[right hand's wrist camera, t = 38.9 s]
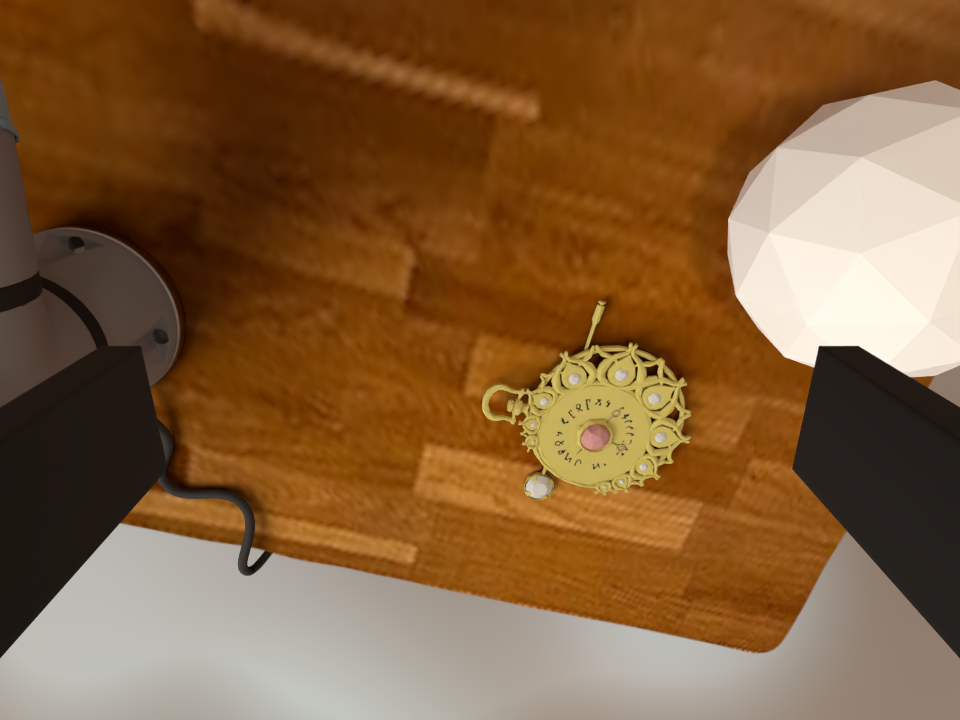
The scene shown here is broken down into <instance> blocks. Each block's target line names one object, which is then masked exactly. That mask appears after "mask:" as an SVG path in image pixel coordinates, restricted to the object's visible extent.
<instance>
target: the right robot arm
mask: <svg viewBox="0 0 960 720" xmlns="http://www.w3.org/2000/svg"><path fill="white" fill-rule="evenodd" d="M18 141H19V134H18V132H17V130H16V128H15V127H14V125H13V124H12V121H11V117H10V113H9V108H8V104H7V100H6V96H5V91H4V87H3V83H2V80H1V78H0V658H1V657H2V656H3V654H4V653H5V652H6V651H7V650H8V649H9V648H10V647H11V645H12V644H13V643H14V642H15V641H16V640H17V639H18V637H19V636H20V635H21V634H22V633H23V632H24V631H25V630H26V628H27V627H28V626H29V625H30V624H31V623H32V622H33V621H34V619H35V618H36V617H37V616H38V615H39V614H40V613H41V612H42V610H43V609H44V608H45V607H46V606H47V605H48V604H49V602H50V601H51V600H52V599H53V598H54V597H55V596H56V595H57V593H58V592H59V591H60V590H61V589H62V588H63V587H64V586H65V584H66V583H67V582H68V581H69V580H70V579H71V578H72V577H73V575H74V574H75V573H76V572H77V571H78V570H79V569H80V567H81V566H82V565H83V564H84V563H85V562H86V561H87V560H88V558H89V557H90V556H91V555H92V554H93V553H94V552H95V551H96V549H97V548H98V547H99V546H100V545H101V544H102V543H103V541H104V540H105V539H106V538H107V537H108V536H109V535H110V534H111V532H112V531H113V530H114V529H115V528H116V527H117V526H118V525H119V523H120V522H121V521H122V520H123V519H124V518H125V517H126V516H127V514H128V513H129V512H130V511H131V510H132V509H133V508H134V506H135V505H136V504H137V503H138V502H139V501H140V500H141V499H142V497H143V496H144V495H145V494H146V493H147V492H148V491H149V490H150V488H151V487H152V486H153V485H154V484H155V483H156V482H157V481H158V482H159V484H160V485H161V486H162V488H164V489H165V490H166V491H167V492H168V493H170V494H172V495H174V496H177V497H181V498H188V499H205V498H218V499H225V500H229V501H231V502H233V503H235V504H236V505H237V506H238V507H239V508H240V509H241V511H242V512H243V515H244V517H245V535H244V539H243V543H242V547H241V551H240V554H239V559H238V568H239V571H240V572H241V573H242V574H243V575H246V576H249V575H252V574H254V573H255V572H257V571H258V570H259V569H260V568H261V567H262V566H263V565H264V564H265V563H266V561H267V560H268V559H269V557H270V556H271V555H272V554H273V553H271V552H267V551H264V552H263V554H262V555H261V556H260V557H259V558H258V560H257V561H256V562H255V563H254V564H253V565H251V566H250V567H248V566H247V561H248V556H249V553H250V549H251V546H252V542H253V537H254V531H255V520H254V514H253V512H252V509H251V507H250V506H249V504H248V503H247V501H246V500H245V499H244V498H242V497H241V496H240V495H238V494H236V493H234V492H231V491H227V490H215V489H209V490H189V489H183V488H180V487H178V486H176V485H174V484H173V483H172V482H171V481H170V480H169V479H168V478H167V474H166V472H167V469H168V468H167V467H168V464H169V461H170V459H171V456H172V453H173V448H174V443H173V439H172V436H171V433H170V432H169V430H168V429H167V428H166V427H165V426H164V425H163V424H162V423H161V422H160V421H159V420H158V419H157V417H156V413H155V408H154V403H153V399H152V394H151V389H150V387H151V386H153V385H154V384H155V383H156V382H158V381H159V380H160V379H161V378H163V377H164V376H165V375H166V374H167V373H168V372H169V371H170V370H171V368H172V367H173V366H174V365H175V363H176V361H177V360H178V358H179V355H180V353H181V351H182V347H183V344H184V339H185V317H184V311H183V307H182V304H181V301H180V298H179V295H178V293H177V291H176V289H175V287H174V285H173V283H172V281H171V280H170V278H169V277H168V275H167V274H166V273H165V271H164V270H163V269H162V268H161V266H160V265H159V264H158V263H157V262H156V261H155V260H154V259H153V258H152V257H151V256H150V255H149V254H148V253H147V252H145V251H144V250H143V249H141V248H140V247H139V246H137V245H136V244H134V243H133V242H131V241H129V240H127V239H126V238H124V237H122V236H120V235H117V234H115V233H113V232H110V231H107V230H104V229H100V228H96V227H90V226H80V225H71V226H62V227H56V228H53V229H49V230H45V231H41V232H38V233H36V234H33V235H32V229H31V224H30V219H29V213H28V208H27V203H26V197H25V192H24V187H23V181H22V176H21V171H20V165H19V160H18V155H17V150H16V144H15V143H16V142H18ZM161 439H162V440H161ZM162 441H163V445H162ZM792 469H793V470H794V471H795V473H796V474H797V475H798V476H799V477H800V478H801V479H802V481H803V482H804V483H805V484H806V485H807V486H808V487H809V488H810V490H811V491H812V492H813V493H814V494H815V495H816V496H817V497H818V499H819V500H820V501H821V502H822V503H823V504H824V505H825V506H826V508H827V509H828V510H829V511H830V512H831V513H832V514H833V516H834V517H835V518H836V519H837V520H838V521H839V522H840V523H841V525H842V526H843V527H844V528H845V529H846V530H847V531H848V532H849V534H850V535H851V536H852V537H853V538H854V539H855V540H856V541H857V543H858V544H859V545H860V546H861V547H862V548H863V549H864V551H865V552H866V553H867V554H868V555H869V556H870V557H871V558H872V560H873V561H874V562H875V563H876V564H877V565H878V566H879V567H880V569H881V570H882V571H883V572H884V573H885V574H886V575H887V576H888V578H889V579H890V580H891V581H892V582H893V583H894V584H895V585H896V587H897V588H898V589H899V590H900V591H901V592H902V593H903V595H904V596H905V597H906V598H907V599H908V600H909V601H910V602H911V604H912V605H913V606H914V607H915V608H916V609H917V610H918V612H919V613H920V614H921V615H922V616H923V617H924V618H925V619H926V621H927V622H928V623H929V624H930V625H931V626H932V627H933V628H934V630H935V631H936V632H937V633H938V634H939V635H940V636H941V637H942V639H943V640H944V641H945V642H946V643H947V644H948V645H949V647H950V648H951V649H952V650H953V651H954V652H955V653H956V654H957V656H958V657H959V658H960V407H958V406H957V405H955V404H953V403H952V402H950V401H948V400H947V399H945V398H943V397H942V396H940V395H939V394H937V393H935V392H934V391H932V390H930V389H929V388H927V387H925V386H924V385H922V384H920V383H919V382H917V381H915V380H914V379H912V378H911V377H909V376H907V375H906V374H904V373H902V372H901V371H899V370H897V369H896V368H894V367H892V366H891V365H889V364H887V363H886V362H884V361H883V360H881V359H879V358H878V357H876V356H874V355H873V354H871V353H869V352H868V351H866V350H864V349H863V348H861V347H859V346H819V348H818V352H817V357H816V362H815V366H814V371H813V376H812V380H811V385H810V389H809V394H808V399H807V403H806V408H805V413H804V417H803V422H802V426H801V431H800V436H799V440H798V445H797V450H796V454H795V459H794V464H793V468H792Z"/></svg>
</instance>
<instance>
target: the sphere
mask: <svg viewBox="0 0 960 720" xmlns="http://www.w3.org/2000/svg"><path fill="white" fill-rule="evenodd" d="M728 259H729V264H730V269H731V274H732V279H733V284H734V289H735V294H736V297H737V298H738V300H739V301H740V303H741V304H742V306H743V307H744V308H745V310H746V311H747V313H748V314H749V316H750V317H751V319H752V320H753V322H754V323H755V324H756V326H757V327H758V328H759V330H760V331H761V332H762V333H763V334H764V335H765V336H766V337H767V338H768V339H769V340H770V341H771V343H772V344H773V345H774V346H775V347H776V348H777V349H778V350H779V351H780V352H781V353H782V355H783V356H784V357H786V358H789V359H792V360H794V361H797V362H800V363H803V364H806V365H809V366H811V367H814V366H815V362H816V357H817V352H818V348H819V346H859V347H861V348H863V349H864V350H866V351H868V352H869V353H871V354H873V355H874V356H876V357H878V358H879V359H881V360H883V361H884V362H886V363H887V364H889V365H891V366H892V367H894V368H896V369H897V370H899V371H901V372H902V373H904V374H906V375H907V376H909V377H921V376H935V375H938V374H940V373H943V372H945V371H947V370H950V369H952V368H955V367H957V366H959V365H960V90H958V89H956V88H953V87H951V86H948V85H946V84H943V83H941V82H938V81H936V80H935V81H930V82H925V83H921V84H916V85H912V86H907V87H903V88H898V89H894V90H889V91H884V92H880V93H875V94H871V95H866V96H862V97H857V98H852V99H848V100H843V101H839V102H834V103H830V104H825V105H823V106H822V107H821V108H819V109H818V110H817V111H816V112H815V113H814V114H813V115H812V116H811V117H810V118H808V119H807V120H806V121H805V122H804V123H803V124H802V125H801V126H800V127H799V128H798V129H796V130H795V131H794V132H793V133H792V134H791V135H790V136H789V137H788V138H787V139H785V140H784V141H783V142H782V143H781V144H780V145H779V146H778V147H777V148H776V149H775V150H773V151H772V152H771V153H770V154H769V155H768V156H767V157H766V158H765V159H764V160H762V161H761V162H760V163H759V164H758V165H757V166H756V167H755V168H754V169H753V170H751V171H750V172H749V174H748V176H747V179H746V181H745V183H744V185H743V188H742V190H741V192H740V194H739V196H738V199H737V201H736V203H735V205H734V207H733V210H732V212H731V214H730V216H729V218H728Z"/></svg>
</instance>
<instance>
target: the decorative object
mask: <svg viewBox="0 0 960 720" xmlns="http://www.w3.org/2000/svg"><path fill="white" fill-rule="evenodd" d="M598 302H599V304H597V306H596V309H595V312H594V315H593V318H592V322H593V324H592V327H591V330H590V333H589V336H588V339H587V342H586V345H585V348H584V351H582V352H580V353H577V354H575V355H573V356H571V357H569V356H568V351H565V353H560V356H561V357H562V358H563V361H562V362H561V363H560V364H558V365H557V366H556V367H555V368H554V369H553V370H552V371H550V372H549V373H548V374H544V373H541V374H540V378H541V380H542V382H541V383H540V385H539V386H538V387H537V389H536V390H534V391H529V389H526V390H527V391H525V389H524V388H521V389H520V390H519V389H512V388H510V387H509V386H507V385H505V384H501V383H499V384H495V385H493V386H492V387H491V388H489V389H488V390H487V392H486V393H485V395H484V397H483V401H482V408H483V412H484V414H485V415H486V417H487V418H488V419H490V420H494V421H498V420H507V421H510V422H511V424H514V423H515V421H516V418H515V415H519V414H520V413H521V412H524V413H525V415H526V416H527V417H526V418H525V419H524V421H519V423H518V425H522V426H523V428H524V431H523V432H521V433H520V435H523V436H525V437H526V440H525V442H522V443H523V444H522V445H526V446H527V447H528V450H527V452H529V451H530V449H533V451H534V454H535V456H536V457H537V458H538V459H539V461H540V462H541V463H542V465H543V466H544V468H543V471H542V472H536V473H534V474H532V475H529V476H528V477H527V479H526V482H525V484H524V490H525V493H526V495H527V496H529V497H531V498H534V499H545V498H547V497H549V495H550V494H551V493H552V490H553V487H554V482H553V480H552V478H551V477H549V476H548V475H547V474H546V473H545V472H546V470H548V471H550V472H551V473H552V474H553V475H554V476H556V477H558V478H560V479H562V480H563V481H565V482H568V483H571V484H574V485H577V486H581V487H589V488H596V489H597V491H595V492H594V494H596V493H598V492H601V493H603V496H604V495H606V492H608V491H609V490H610V491H612V492H614V494H617V491H618V490H625V493H627V492H629V490H628V487H630V486H631V485H632V484H638V485H640V486H644V484H643V481H644V479H647V478H651V477H655V479H656V480H658V478H659V477H660V475H657V469H658V466H660V465H662V464H664V463H667V464H671V463H673V460H672V459H671V454H672V450H673V449H675V448H676V447H677V446H678V445H679V444H680V443H681V442H686V443H689V442H690V441H689V439H690V436H683V435H682V433H681V431H682V428H683V425H684V420H685V419H687V418H689V417H690V416H691V414H690V413H691V411H690V410H687V409H685V402H684V396H683V393H682V390H681V387H682V386H687V382H684V381H685V380H684V378H681V379H680V380H679V381H677V379H676V377H675V376H674V374H673V372H672V371H671V370H670V369H669V368H668V367H667V366H666V365H665V364H664V362H665V361H664V359H662V358H660V359H658V358H656V357H654V356H653V355H651V354H650V353H647V352H645V351H642V350H639V349H636V348H637V347H638V345H637V344H634V345H633V344H632V342H631V343H629V347H626V346H619V345H617V346H600V347H599V346H598V345H595V346H594V345H593V346H592V347H591V349H588V347H589V344H590V341H591V338H592V336H593V333H594V330H595V327H596V324H597V323H598V322H599V321H600V319H601V316H602V313H603V310H604V308H605V306H603V305H604V304H606V302H604V301H601V300H599V301H598ZM612 351H619V352H621V353H618V354H614V355H611V354H609V353H606V352H612ZM596 353H599V354H600V355H601V356H602V357H605V358H606V359H604V360H603V361H602V362H601V363H600V364H599V366H598V368H597V369H596V368H595V366H594V365H593V364H592V363H591V362H589V361H588V360H589V359H590V358H591V357H592V355H593V354H596ZM630 353H631V355H630ZM637 355H638V356H641V357H644V358H646V359H648V360H650V361H648V362H642V360H641V359H640V358H639V357H638V356H637ZM631 356H632V358H633V359H634V360H635V362H636V363H637V364H634V363H633V360H632V358H631ZM580 358H581V359H580ZM619 358H621V359H619ZM617 359H619V360H617ZM613 361H615V362H614V363H613ZM572 362H573V363H578V365H576V364H573V363H572ZM612 363H613V364H612ZM611 364H612V365H611ZM655 364H657V365H658V366H659V367H658V371H657V372H658V376H647V377H646V375H647V372H646V368H645V367H651V366H653V365H655ZM610 365H611V366H610ZM582 366H583V367H584V368H585V369H586V371H587V372H588V373H589V376H588V378H587V377H586V371H585V370H584V369H583V368H582ZM635 367H638V371H637V377H636V380H635V381H634V382H632V381H633V379H634V378H635ZM563 368H564V369H563ZM562 369H563V371H561V370H562ZM606 371H607V378H608V379H607V378H606V376H605V373H606ZM663 371H664V372H665V373H666V374H667V376H668V377H669V379H667V378H665V377H663ZM560 374H561V378H562V384H563V385H564V386H565V387H563V386H561V380H560ZM543 377H545V378H543ZM551 378H552V381H551V382H552V386H553V387H550V386H546V384H547V383H548V381H549V380H550V379H551ZM596 378H597V379H598V380H596ZM631 382H632V383H631ZM656 383H659V384H656ZM663 383H666V384H669V385H664V384H663ZM545 386H546V387H545ZM566 387H567V388H566ZM645 387H646V388H645ZM498 390H505V391H508V392H511V393H515V394H519V395H518V399H515V400H514V401H513V399H509V401H508V404H507V410H508V411H510V412H511V410H512V414H513V415H512V417H509V416H503V415H495V414H493V413H491V411H490V409H489V406H488V405H489V400H490V398H491V396H492V395H493V393H494V392H496V391H498ZM634 390H635V391H634ZM642 390H643V391H642ZM673 391H674V394H673V398H671V395H672V392H673ZM524 394H528V396H529V402H528V403H526V404H524V403H523V401H522V399H520V398H521V397H522V396H523V395H524ZM551 394H552V395H551ZM678 399H679V403H678V402H677V400H678ZM669 400H670V402H669V403H668V404H667V405H666V406H664V405H665V404H666V403H667V402H668V401H669ZM535 405H536V406H537V408H540V409H542V410H538V409H537V408H536V407H535ZM663 406H664V407H663ZM662 407H663V408H662ZM675 407H676V408H677V409H678V411H680V412H679V419H678V421H677V423H675V421H674V420H673V419H671V418H667V417H666V416H668V415H669V414H670V413H672V411H673V410H674V408H675ZM528 408H529V410H528ZM660 408H662V409H661V410H657V409H660ZM654 410H657V411H654ZM685 413H687V414H686V415H685ZM651 417H652V418H654V419H655V420H654V421H653V423H652V421H651ZM662 424H663V425H662ZM664 425H666V426H664ZM667 426H668V427H667ZM670 427H671V428H673V429H671V428H670ZM674 431H675V433H674ZM526 432H527V434H528V436H527V434H525V433H526ZM650 443H651V444H650ZM651 445H653V446H655V447H658V449H654V448H653V447H652V446H651ZM666 446H668V447H667V448H660V447H666ZM646 450H647V452H648V453H646V454H644V453H645V452H646ZM656 456H659V458H657V457H656ZM666 457H667V458H668V461H666V460H664V459H665V458H666ZM650 459H651V460H652V462H653V463H652V462H651V460H650ZM654 468H655V469H654ZM653 469H654V472H653ZM629 470H630V471H629ZM635 470H636V471H637V472H638V473H635ZM628 471H629V473H626V472H628ZM611 480H612V481H611ZM634 480H640V481H639V482H640V483H639V482H637V481H634ZM610 481H611V482H610ZM627 484H628V485H627ZM611 487H614V488H615V491H614V490H613V489H611Z"/></svg>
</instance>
